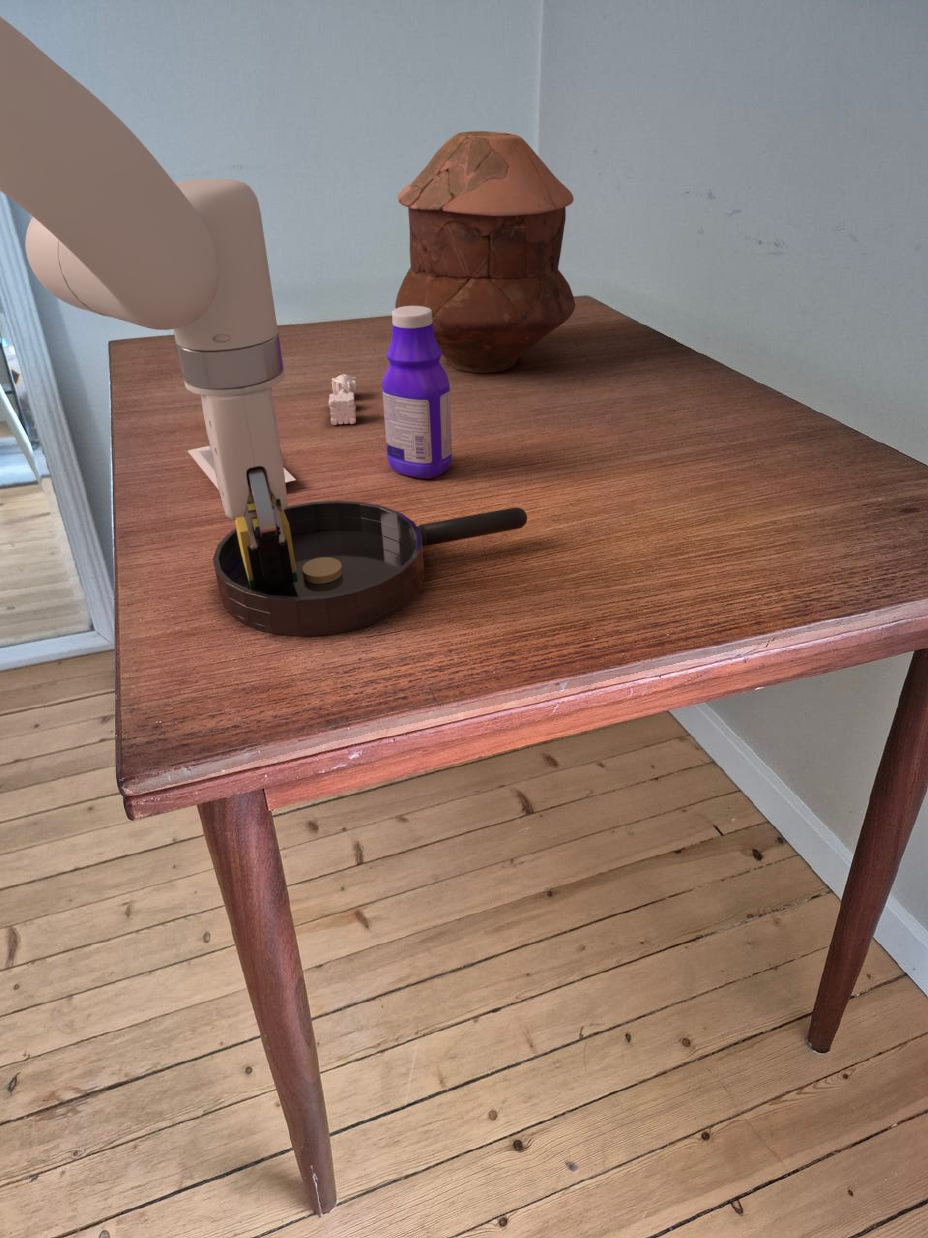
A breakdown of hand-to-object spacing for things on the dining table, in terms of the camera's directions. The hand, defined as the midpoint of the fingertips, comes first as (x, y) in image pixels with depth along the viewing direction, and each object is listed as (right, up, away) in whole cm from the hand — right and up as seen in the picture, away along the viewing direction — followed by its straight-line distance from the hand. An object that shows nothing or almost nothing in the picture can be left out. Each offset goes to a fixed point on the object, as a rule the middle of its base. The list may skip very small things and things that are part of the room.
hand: (268, 566), depth 78 cm
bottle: (+12, +12, +22) cm, 28 cm away
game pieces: (+1, +23, +40) cm, 46 cm away
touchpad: (-8, +12, +23) cm, 27 cm away
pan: (+4, -1, +2) cm, 5 cm away
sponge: (0, 0, 0) cm, 0 cm away
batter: (+4, 0, +2) cm, 5 cm away
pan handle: (+18, +3, +5) cm, 19 cm away
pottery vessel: (+20, +33, +55) cm, 67 cm away
